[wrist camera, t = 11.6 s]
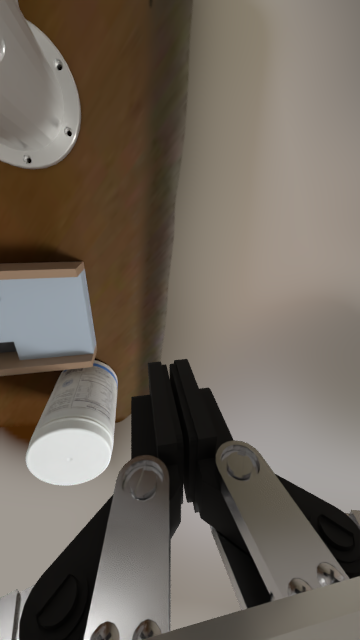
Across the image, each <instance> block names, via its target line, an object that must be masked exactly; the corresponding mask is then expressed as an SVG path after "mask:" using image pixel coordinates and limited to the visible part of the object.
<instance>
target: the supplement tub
mask: <svg viewBox="0 0 360 640" xmlns="http://www.w3.org/2000/svg"><path fill="white" fill-rule="evenodd" d="M117 386H118V381H117V377H116V374H115V373H114V371H113V370H112V369H111V368H110V367H109V366H108V365H106V364H105V363H102V362H100V361H96V360H94V363H93V367H88V368H78V369H67V370H63V371H62V373H61V374H60V376H59V378H58V381H57V383H56V385H55V387H54V389H53V392H52V394H51V396H50V398H49V400H48V403H47V405H46V407H45V409H44V411H43V414H42V416H41V418H40V420H39V422H38V424H37V427H36V429H35V431H34V433H33V435H32V438H31V440H30V443H29V448H28V450H27V453H26V464H27V467H28V469H29V470H30V472H31V473H32V474H33V475H34V476H35V477H37V478H38V479H40V480H42V481H44V482H47V483H50V484H55V485H75V484H80V483H84V482H87V481H89V480H91V479H93V478H95V477H97V476H98V475H100V474H101V473H102V472H103V471H104V470H105V469H106V467H107V466H108V464H109V462H110V459H111V453H112V449H113V441H114V427H115V414H116V400H117Z"/></svg>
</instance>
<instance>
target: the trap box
mask: <svg viewBox="0 0 360 640" xmlns="http://www.w3.org/2000/svg"><path fill="white" fill-rule="evenodd" d="M96 352H97V346H96V339H95V333H94V326H93V320H92V314H91V307H90V301H89V294H88V288H87V282H86V275H85V269H84V262H83V261H81V262H43V263H5V264H0V376H6V375H17V374H27V373H37V372H47V371H57V370H67V369H78V368H88V367H93V363H94V359H95V355H96Z"/></svg>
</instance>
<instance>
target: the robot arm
mask: <svg viewBox="0 0 360 640" xmlns="http://www.w3.org/2000/svg"><path fill="white" fill-rule="evenodd" d="M58 67H62V70H58ZM80 123H81V106H80V100H79V95H78V90H77V87H76V85H75V82H74V79H73V76H72V74H71V72H70V70H69V68H68V65H67V63H66V62H65V60H64V59H63V57H62V55H61V54H60V52H59V50H58V49H57V48H56V47H55V45H54V44H53V43H52V42H51V41H50V39H49V38H48V37H47V36H46V35H45V34H44V33H43V32H42V31H41V30H39V29H38V28H37V27H36V26H35V25H34V24H32V23H31V22H29V21H28V20H26V19H25V18H24V16H23V14H22V12H21V11H20V9H19V5H18V0H0V160H1V161H3V162H5V163H8V164H10V165H13V166H17V167H20V168H25V169H42V168H47V167H50V166H52V165H55V164H57V163H58V162H60V161H61V160H63V159H64V158H65V157H66V156H67V155H68V154H69V152H70V151H71V150H72V148H73V146H74V144H75V143H76V140H77V137H78V134H79V131H80ZM68 132H72V135H71V136H68ZM28 159H31V160H32V162H31V163H29V162H28ZM148 372H149V389H150V395H144V396H136V397H132V401H131V417H132V418H131V419H132V420H131V426H132V428H131V429H132V430H131V431H132V432H131V434H132V435H131V436H132V438H131V443H132V444H131V446H132V447H131V449H132V450H131V451H132V453H131V460H130V461H129V462H128V463H126V464H125V465H124V466H123V468H122V469H121V471H120V472H119V474H118V477H117V480H116V485H115V490H114V494H113V495H112V497H111V498H110V499H109V500H108V501H107V502H106V503H105V504H104V506H103V507H102V508H101V509H100V510H99V511H98V512H97V513H96V515H95V516H94V517H93V518H92V519H91V520H90V522H89V523H88V524H87V525H86V526H85V527H84V528H83V529H82V530H81V532H80V533H79V534H78V535H77V536H76V537H75V539H74V540H73V541H72V542H71V543H70V544H69V545H68V546H67V548H66V549H65V550H64V551H63V552H62V553H61V554H60V556H59V557H58V558H57V559H56V560H55V561H54V562H53V563H52V565H51V566H50V567H49V568H48V569H47V570H46V571H45V572H44V574H43V575H42V576H41V578H40V579H39V580H38V581H37V583H36V584H35V585H33V586H31V587H30V588H28V589H26V590H24V591H22V592H20V593H19V591H18V590H15V591H13V592H11V593H9V594H7V595H5V596H3V597H1V598H0V640H360V511H359V510H351V512H350V514H348V513H344V512H342V511H341V510H339V509H338V508H336V507H335V506H333V505H331V504H329V503H327V502H325V501H324V500H322V499H320V498H318V497H316V496H314V495H313V494H311V493H309V492H307V491H305V490H304V489H302V488H300V487H298V486H296V485H294V484H292V483H291V482H289V481H287V480H285V479H283V478H281V477H280V476H278V475H276V474H274V472H273V471H272V469H271V468H270V467H269V465H268V464H267V463H266V461H265V460H264V459H263V457H262V456H261V454H260V453H259V452H258V451H257V450H256V449H255V448H254V447H253V446H251V445H249V444H248V443H245V442H242V441H235V440H233V438H232V436H231V434H230V431H229V429H228V427H227V425H226V423H225V420H224V418H223V416H222V414H221V412H220V410H219V407H218V405H217V403H216V401H215V398H214V396H213V394H212V392H211V390H210V389H209V388H202V389H199V388H198V385H197V383H196V380H195V378H194V375H193V373H192V370H191V367H190V365H189V362H188V360H187V359H182V360H175V361H174V364H170V379H169V375H168V371H167V366H166V365H161V362H152V363H148ZM183 484H184V489H185V494H186V499H187V502H188V503H189V502H193V505H194V510H195V513H196V512H199V513H200V517H201V518H202V519H203V520H204V521H205V522H207V523H208V524H209V525H210V528H211V532H212V534H213V537H214V540H215V542H216V545H217V548H218V550H219V553H220V556H221V558H222V561H223V563H224V566H225V568H226V571H227V574H228V576H229V579H230V581H231V584H232V587H233V589H234V592H235V595H236V597H237V600H238V602H239V605H240V608H241V611H238V612H234V613H231V614H228V615H224V616H221V617H217V618H214V619H211V620H207V621H204V622H200V623H197V624H194V625H190V626H187V627H183V628H180V629H176V630H173V631H170V567H171V566H170V565H171V564H170V562H171V559H170V558H171V557H170V554H171V550H170V549H171V546H170V545H171V544H170V543H171V538H172V536H173V534H174V533H175V531H176V529H177V528H178V526H179V524H180V522H181V504H182V503H183Z"/></svg>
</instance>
